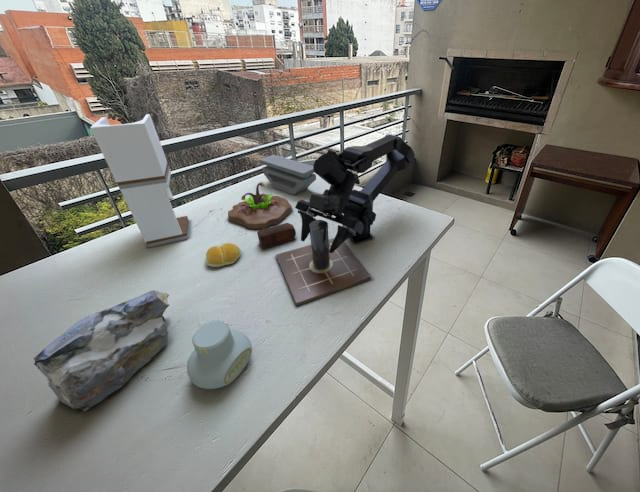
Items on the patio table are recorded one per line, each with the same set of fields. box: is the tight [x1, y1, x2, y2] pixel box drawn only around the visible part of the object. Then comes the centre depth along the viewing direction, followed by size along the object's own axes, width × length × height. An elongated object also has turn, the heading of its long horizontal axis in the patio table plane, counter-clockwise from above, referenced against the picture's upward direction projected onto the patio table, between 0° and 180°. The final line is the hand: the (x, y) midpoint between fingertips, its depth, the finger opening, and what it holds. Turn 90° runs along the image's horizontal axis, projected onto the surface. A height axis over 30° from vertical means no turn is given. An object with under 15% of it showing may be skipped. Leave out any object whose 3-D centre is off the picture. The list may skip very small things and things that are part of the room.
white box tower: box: [89, 113, 190, 248], centre depth 81 cm, size 11×11×35 cm
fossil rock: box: [33, 290, 170, 413], centre depth 52 cm, size 20×10×15 cm, turn 153°
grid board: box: [275, 237, 371, 307], centre depth 78 cm, size 20×20×1 cm
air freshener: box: [186, 319, 253, 390], centre depth 51 cm, size 11×8×10 cm
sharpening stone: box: [258, 154, 317, 196], centre depth 117 cm, size 25×8×11 cm, turn 56°
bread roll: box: [205, 242, 242, 268], centre depth 80 cm, size 8×9×4 cm
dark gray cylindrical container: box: [309, 219, 330, 270], centre depth 74 cm, size 5×5×13 cm
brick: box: [256, 222, 297, 249], centre depth 87 cm, size 11×4×5 cm, turn 123°
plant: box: [227, 181, 293, 230], centre depth 99 cm, size 20×20×11 cm
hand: (315, 246), depth 73 cm, fingers open, 9 cm apart
